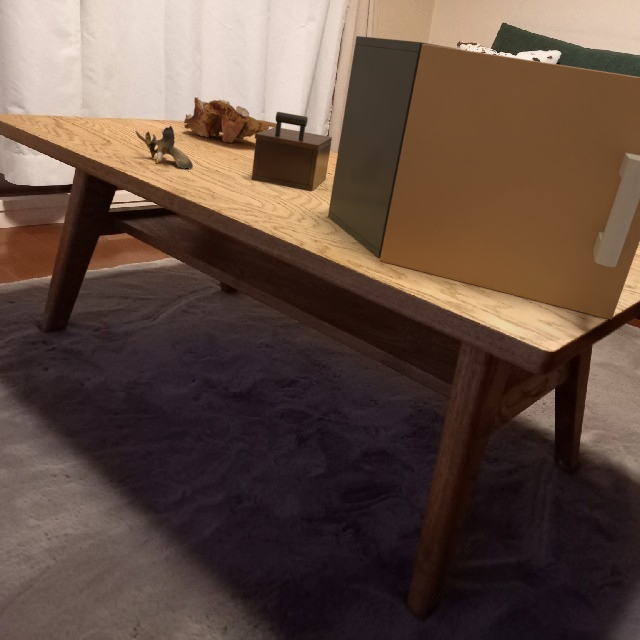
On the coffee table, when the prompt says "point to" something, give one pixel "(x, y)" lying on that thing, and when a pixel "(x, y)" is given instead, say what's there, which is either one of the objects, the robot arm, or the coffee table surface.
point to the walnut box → (290, 164)
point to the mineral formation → (223, 121)
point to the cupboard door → (519, 178)
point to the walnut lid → (293, 133)
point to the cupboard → (373, 136)
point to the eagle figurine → (166, 147)
